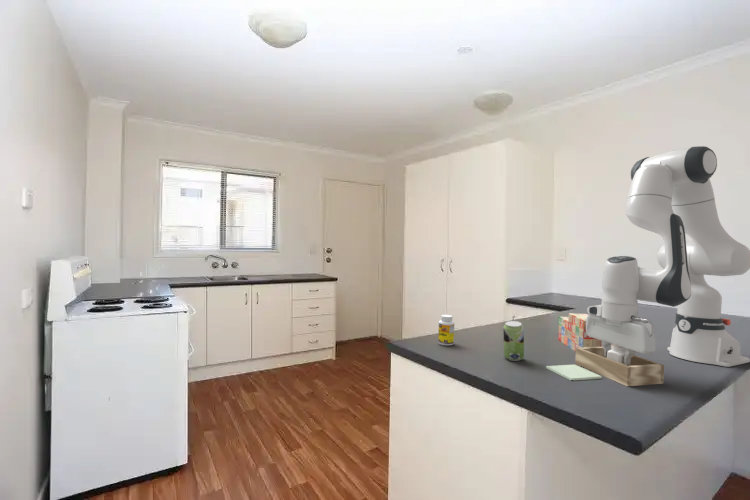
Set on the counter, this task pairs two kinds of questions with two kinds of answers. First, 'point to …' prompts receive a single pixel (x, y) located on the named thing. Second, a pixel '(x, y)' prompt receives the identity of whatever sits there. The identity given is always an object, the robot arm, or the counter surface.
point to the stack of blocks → (575, 332)
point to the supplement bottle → (446, 330)
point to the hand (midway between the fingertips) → (617, 360)
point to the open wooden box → (620, 367)
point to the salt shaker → (616, 353)
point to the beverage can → (513, 340)
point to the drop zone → (573, 372)
